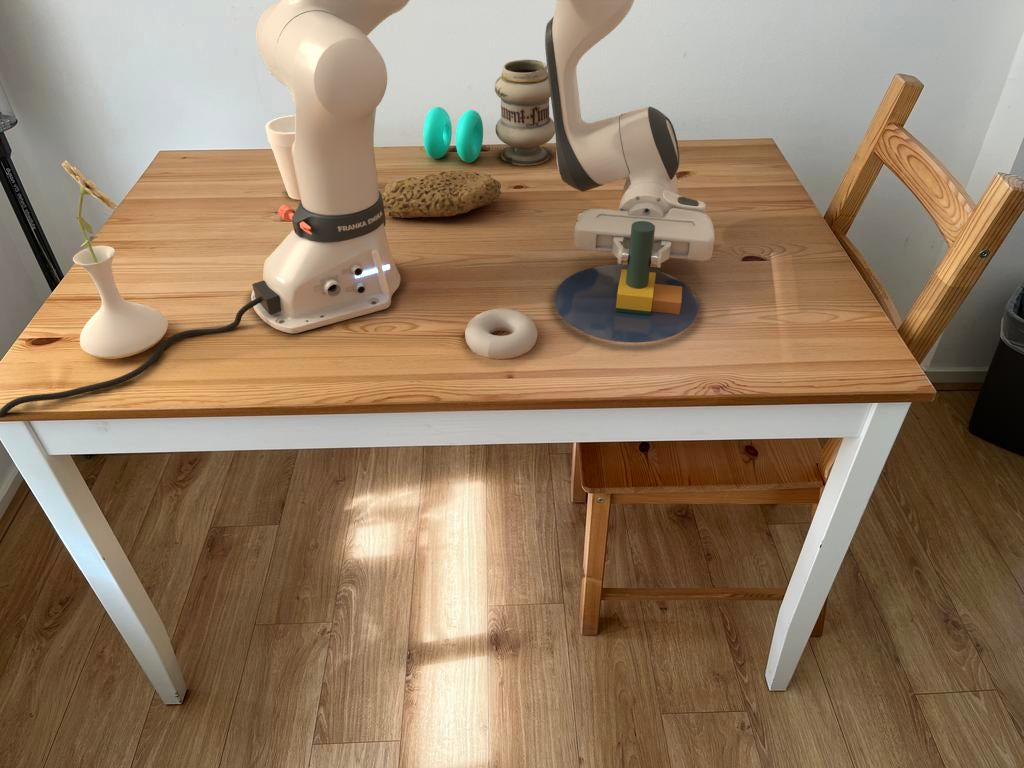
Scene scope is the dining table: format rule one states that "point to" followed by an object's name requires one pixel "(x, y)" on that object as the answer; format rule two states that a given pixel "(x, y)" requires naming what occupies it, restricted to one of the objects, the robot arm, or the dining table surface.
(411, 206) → the sponge
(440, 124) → the donuts
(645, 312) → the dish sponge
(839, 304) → the dining table surface
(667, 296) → the orange block
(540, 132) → the apothecary jar
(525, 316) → the donut
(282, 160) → the foam cup
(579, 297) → the plate
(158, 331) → the flower in vase
